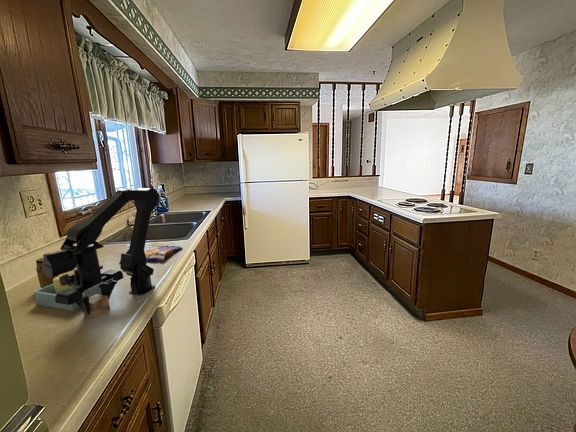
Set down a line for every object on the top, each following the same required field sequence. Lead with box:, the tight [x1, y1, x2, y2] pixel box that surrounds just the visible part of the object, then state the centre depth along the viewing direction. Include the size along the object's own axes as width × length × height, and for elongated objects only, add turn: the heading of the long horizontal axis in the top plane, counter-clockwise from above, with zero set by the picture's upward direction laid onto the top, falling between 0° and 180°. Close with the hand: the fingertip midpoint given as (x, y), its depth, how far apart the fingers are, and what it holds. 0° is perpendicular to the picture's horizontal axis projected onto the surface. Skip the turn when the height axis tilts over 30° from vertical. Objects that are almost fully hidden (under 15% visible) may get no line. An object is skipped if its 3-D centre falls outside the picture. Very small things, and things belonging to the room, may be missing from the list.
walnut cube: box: [83, 294, 111, 318], centre depth 89 cm, size 5×5×5 cm
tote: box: [33, 283, 102, 312], centre depth 98 cm, size 13×17×5 cm
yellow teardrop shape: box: [53, 274, 73, 294], centre depth 99 cm, size 5×5×7 cm
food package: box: [144, 245, 183, 263], centre depth 141 cm, size 22×25×4 cm
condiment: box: [35, 256, 60, 291], centre depth 107 cm, size 7×8×12 cm
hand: (96, 309), depth 89 cm, fingers open, 6 cm apart
